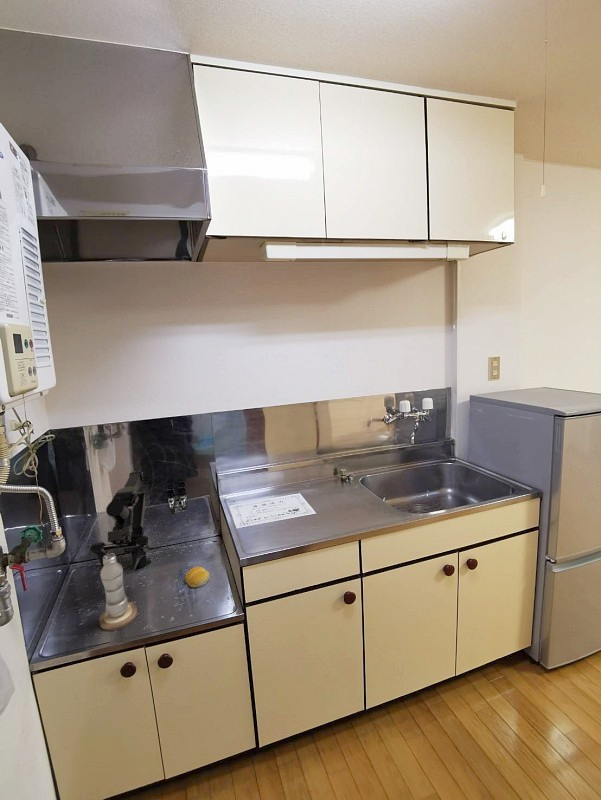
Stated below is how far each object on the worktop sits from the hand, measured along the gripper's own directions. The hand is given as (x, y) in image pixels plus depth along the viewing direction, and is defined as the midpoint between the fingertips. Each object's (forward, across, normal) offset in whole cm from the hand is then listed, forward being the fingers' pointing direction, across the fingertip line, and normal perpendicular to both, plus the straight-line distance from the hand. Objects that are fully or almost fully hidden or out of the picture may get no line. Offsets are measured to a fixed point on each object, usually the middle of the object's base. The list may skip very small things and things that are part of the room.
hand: (118, 572), depth 130 cm
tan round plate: (+13, 0, +4) cm, 13 cm away
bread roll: (+4, +24, +14) cm, 28 cm away
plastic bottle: (+12, 0, +3) cm, 12 cm away
